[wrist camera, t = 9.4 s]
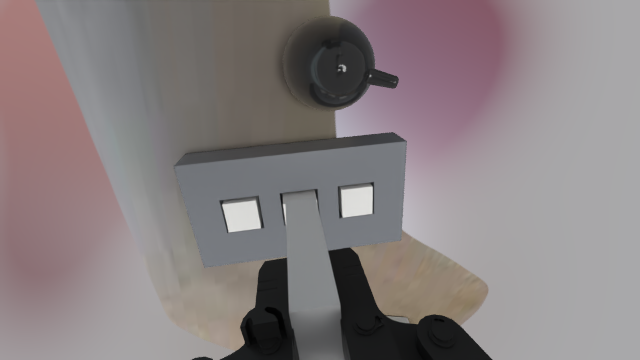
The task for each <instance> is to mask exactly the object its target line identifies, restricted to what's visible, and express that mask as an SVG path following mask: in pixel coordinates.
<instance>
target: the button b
mask: <svg viewBox="0 0 640 360" xmlns="http://www.w3.org/2000/svg"><path fill="white" fill-rule="evenodd" d="M312 197H315V198H316V194H315V190H314V189H311V190H303V191H294V192H286V193H283V208H284V215H285V222H286V201H291V200H298V199H305V198H312ZM316 202H317V198H316Z"/></svg>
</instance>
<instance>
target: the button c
mask: <svg viewBox="0 0 640 360" xmlns="http://www.w3.org/2000/svg"><path fill="white" fill-rule="evenodd" d="M338 204H339V210H340V212H341V215H342V218H344V217H352V216H360V215H367V214H372V204H373V186H372V185H371V183H370V182H369V183H361V184H353V185H344V186H338Z"/></svg>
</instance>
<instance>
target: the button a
mask: <svg viewBox="0 0 640 360" xmlns="http://www.w3.org/2000/svg"><path fill="white" fill-rule="evenodd" d="M222 206H223V210H224V214H225V218H226V222H227V226H228V231H229V232H236V231H244V230H252V229H259V228H261V224H262V212H261V206H260V200H259V196H252V197H244V198H236V199H227V200H224V201H223V204H222Z"/></svg>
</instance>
